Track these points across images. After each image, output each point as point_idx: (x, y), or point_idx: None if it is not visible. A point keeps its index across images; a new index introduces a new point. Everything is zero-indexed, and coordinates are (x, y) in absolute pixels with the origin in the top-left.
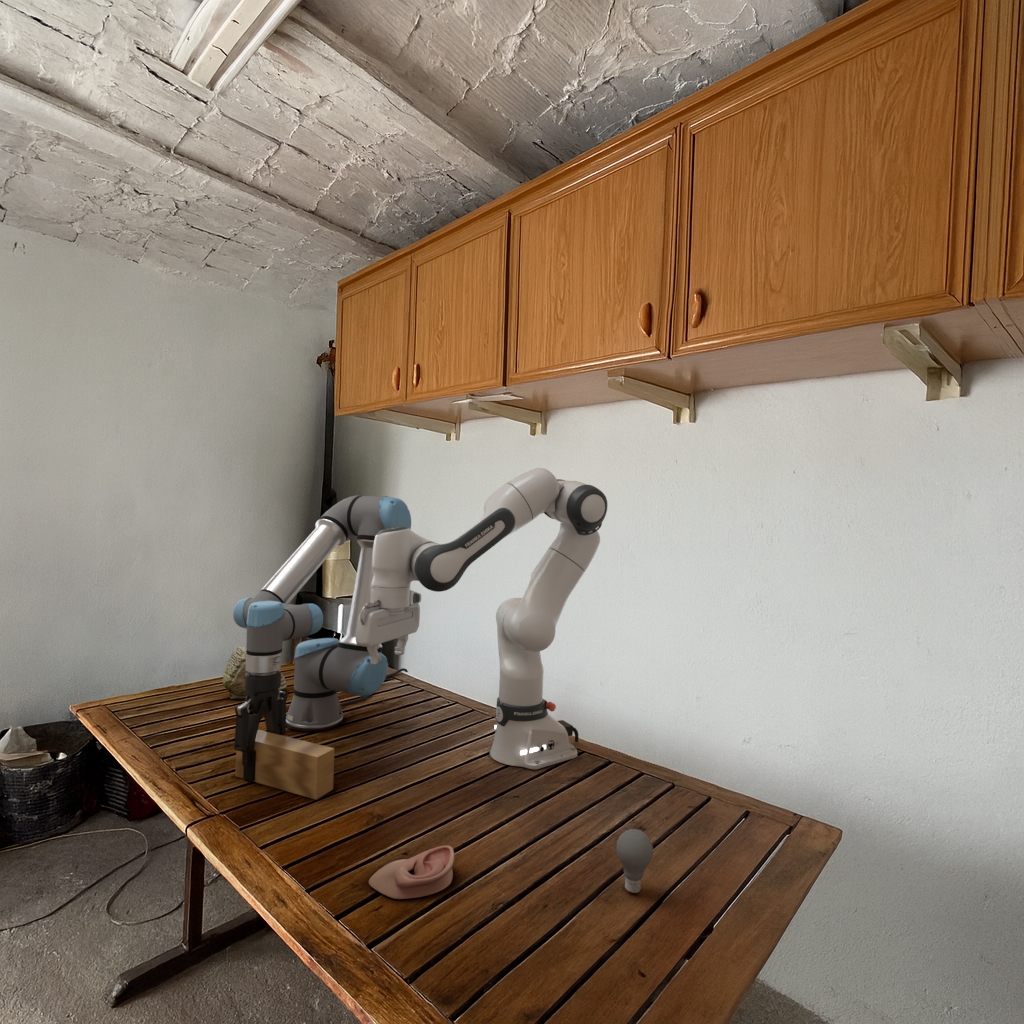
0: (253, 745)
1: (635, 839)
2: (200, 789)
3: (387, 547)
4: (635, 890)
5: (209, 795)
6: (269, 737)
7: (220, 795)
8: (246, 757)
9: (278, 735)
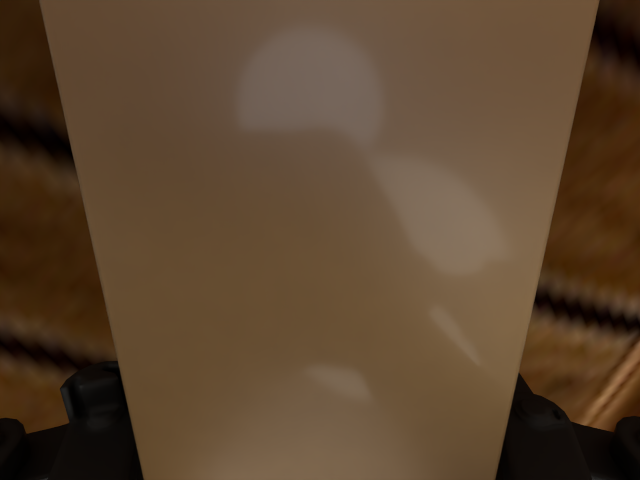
0: (515, 444)
1: None
2: (570, 405)
3: None
4: None
5: (618, 329)
6: (294, 439)
7: (603, 285)
8: (517, 381)
9: (156, 394)
